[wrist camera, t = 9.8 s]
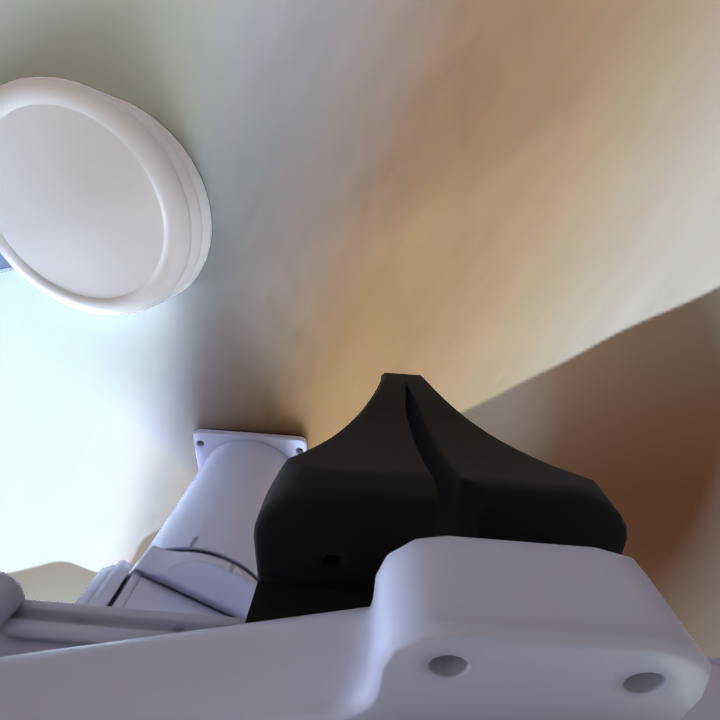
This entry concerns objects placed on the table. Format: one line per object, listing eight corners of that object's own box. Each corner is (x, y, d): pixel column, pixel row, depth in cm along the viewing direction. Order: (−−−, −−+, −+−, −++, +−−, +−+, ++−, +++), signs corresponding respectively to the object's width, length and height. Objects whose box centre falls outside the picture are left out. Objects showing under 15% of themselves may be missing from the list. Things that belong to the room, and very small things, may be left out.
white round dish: (6, 78, 16) (-84, 48, 13) (214, 116, 17) (176, 97, 14) (50, 284, 21) (-9, 300, 17) (217, 313, 21) (188, 333, 18)
